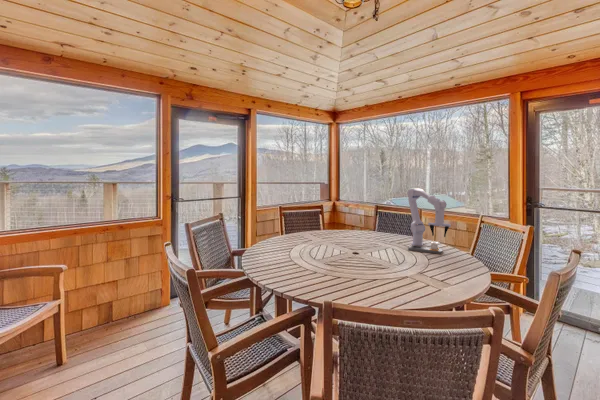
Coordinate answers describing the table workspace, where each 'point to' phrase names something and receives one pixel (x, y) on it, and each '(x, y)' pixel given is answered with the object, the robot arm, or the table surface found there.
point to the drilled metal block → (434, 245)
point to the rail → (424, 249)
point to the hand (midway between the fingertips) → (438, 236)
